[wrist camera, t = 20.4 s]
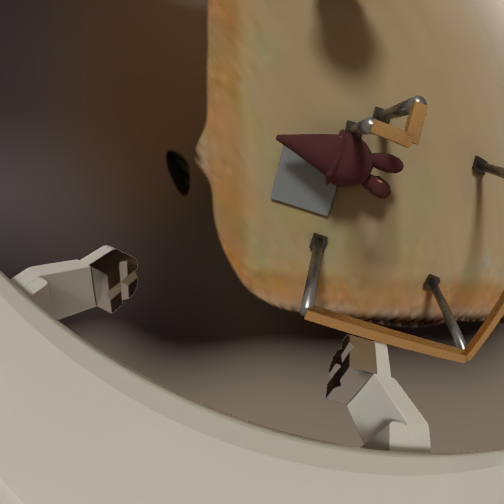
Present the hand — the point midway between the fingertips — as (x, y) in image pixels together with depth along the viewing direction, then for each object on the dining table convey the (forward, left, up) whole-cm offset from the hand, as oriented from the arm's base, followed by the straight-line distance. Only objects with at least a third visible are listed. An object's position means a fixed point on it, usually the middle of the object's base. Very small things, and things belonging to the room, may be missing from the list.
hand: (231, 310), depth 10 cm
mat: (0, 0, -29) cm, 29 cm away
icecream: (+5, -4, -25) cm, 26 cm away
